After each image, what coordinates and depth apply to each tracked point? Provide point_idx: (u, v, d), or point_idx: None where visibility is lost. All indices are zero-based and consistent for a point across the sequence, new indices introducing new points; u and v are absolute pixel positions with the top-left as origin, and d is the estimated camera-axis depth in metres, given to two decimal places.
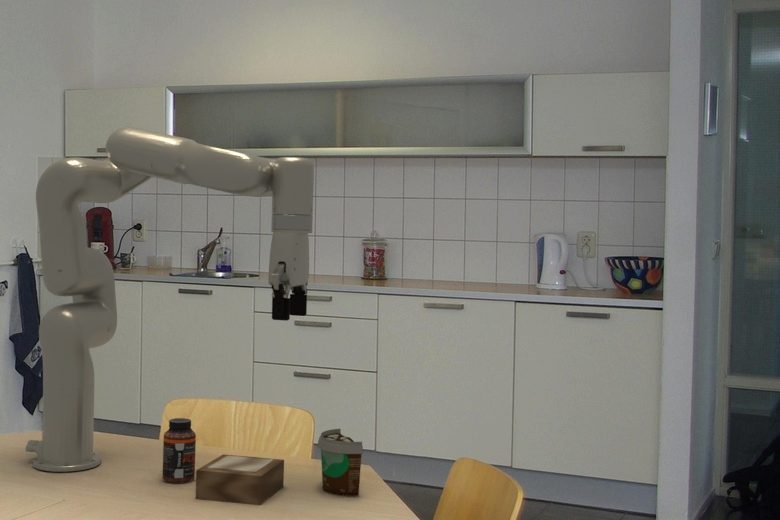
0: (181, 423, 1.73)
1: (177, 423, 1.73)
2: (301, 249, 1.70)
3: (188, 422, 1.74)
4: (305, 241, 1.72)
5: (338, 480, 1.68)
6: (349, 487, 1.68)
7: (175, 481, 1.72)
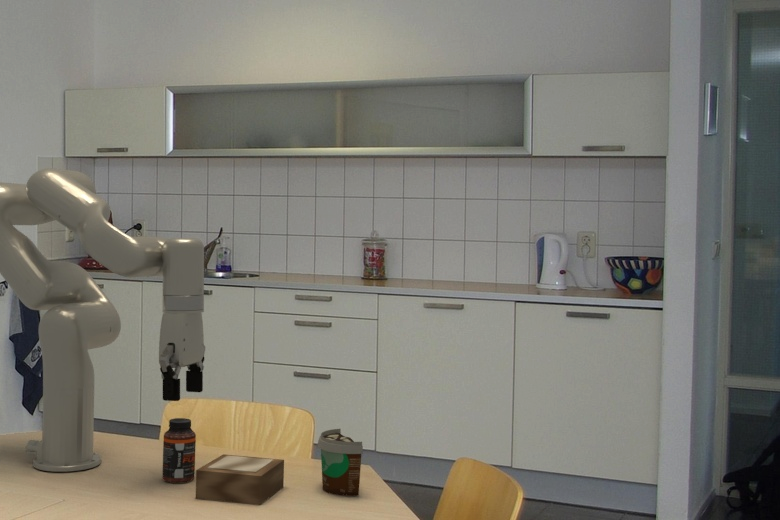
0: (181, 423, 1.73)
1: (177, 423, 1.73)
2: (192, 328, 1.72)
3: (188, 422, 1.74)
4: (197, 320, 1.74)
5: (338, 480, 1.68)
6: (349, 487, 1.68)
7: (175, 481, 1.72)
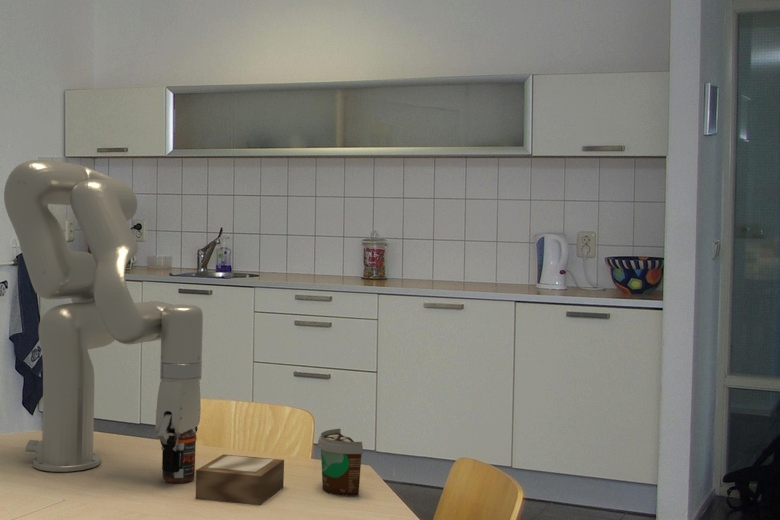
0: None
1: None
2: (189, 396, 1.73)
3: None
4: (194, 387, 1.75)
5: (338, 480, 1.68)
6: (349, 487, 1.68)
7: (175, 481, 1.72)
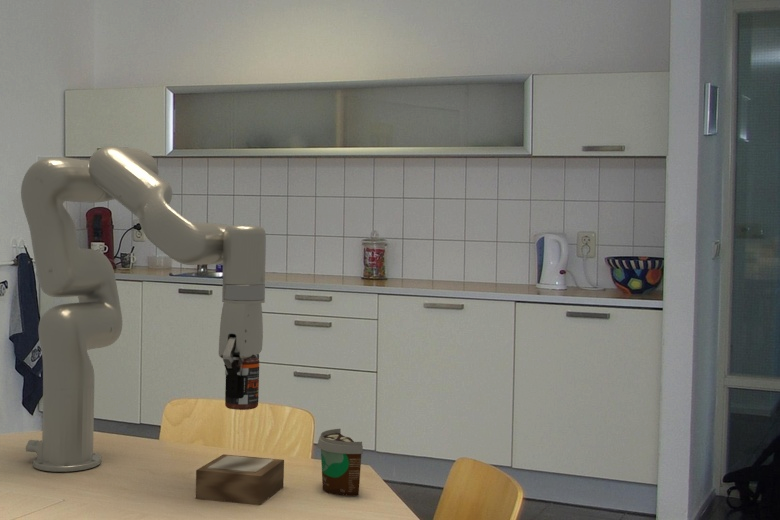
0: None
1: None
2: (253, 319, 1.65)
3: None
4: (257, 311, 1.67)
5: (338, 480, 1.68)
6: (349, 487, 1.68)
7: (239, 407, 1.65)
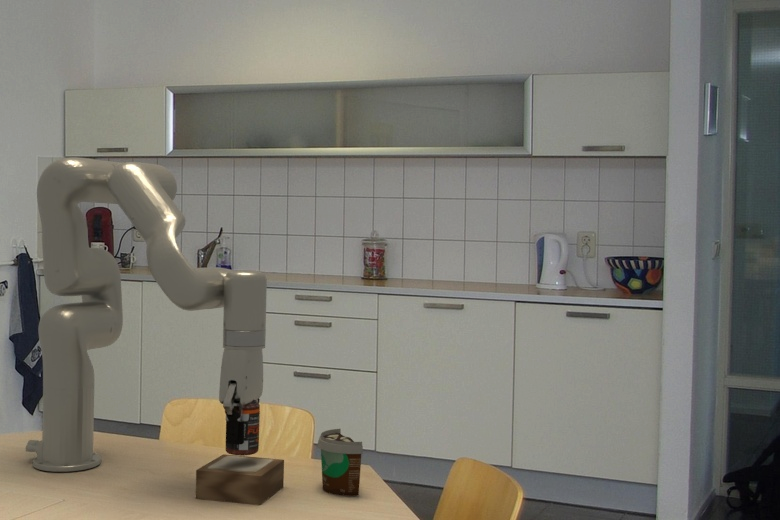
0: None
1: None
2: (254, 365, 1.66)
3: None
4: (258, 356, 1.67)
5: (338, 480, 1.68)
6: (349, 487, 1.68)
7: (240, 453, 1.65)
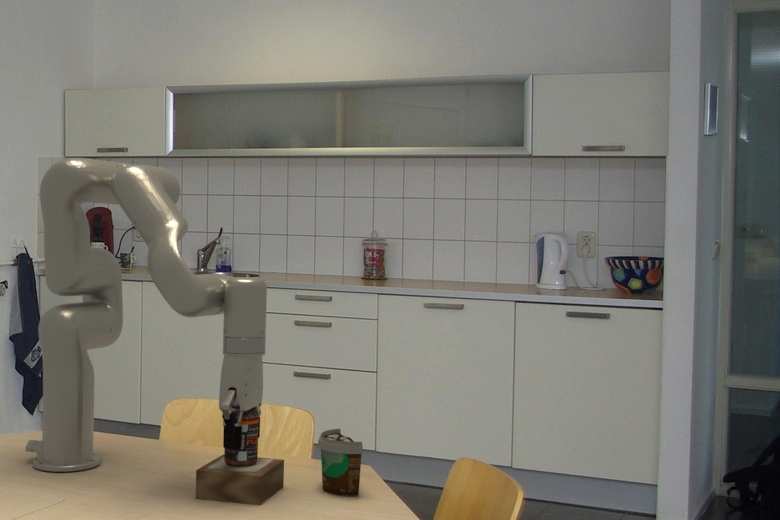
0: None
1: None
2: (254, 372, 1.66)
3: None
4: (258, 363, 1.67)
5: (338, 480, 1.68)
6: (349, 487, 1.68)
7: (238, 464, 1.65)
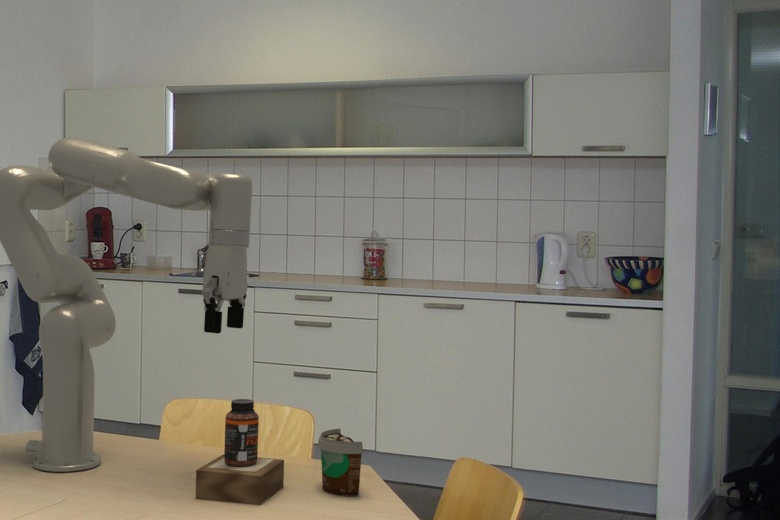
0: (244, 404, 1.66)
1: (240, 404, 1.66)
2: (236, 263, 1.74)
3: (251, 403, 1.67)
4: (241, 256, 1.76)
5: (338, 480, 1.68)
6: (349, 487, 1.68)
7: (238, 464, 1.65)
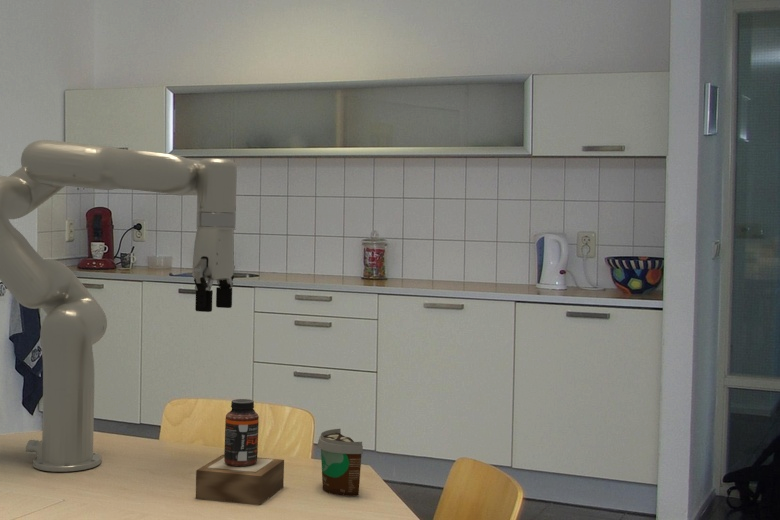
0: (244, 404, 1.66)
1: (240, 404, 1.66)
2: (224, 244, 1.81)
3: (251, 403, 1.67)
4: (228, 237, 1.83)
5: (338, 480, 1.68)
6: (349, 487, 1.68)
7: (238, 464, 1.65)
